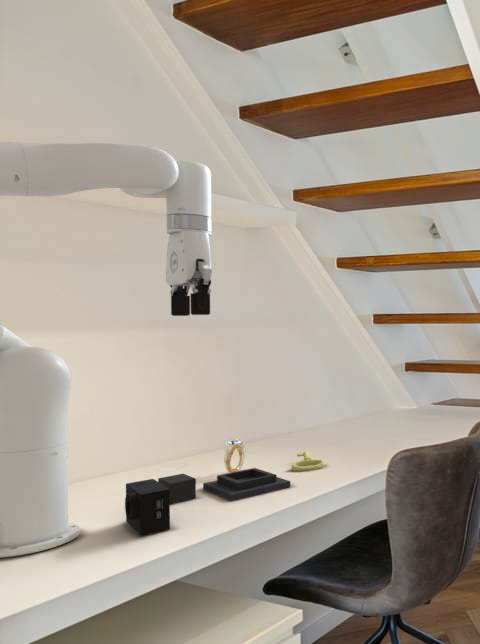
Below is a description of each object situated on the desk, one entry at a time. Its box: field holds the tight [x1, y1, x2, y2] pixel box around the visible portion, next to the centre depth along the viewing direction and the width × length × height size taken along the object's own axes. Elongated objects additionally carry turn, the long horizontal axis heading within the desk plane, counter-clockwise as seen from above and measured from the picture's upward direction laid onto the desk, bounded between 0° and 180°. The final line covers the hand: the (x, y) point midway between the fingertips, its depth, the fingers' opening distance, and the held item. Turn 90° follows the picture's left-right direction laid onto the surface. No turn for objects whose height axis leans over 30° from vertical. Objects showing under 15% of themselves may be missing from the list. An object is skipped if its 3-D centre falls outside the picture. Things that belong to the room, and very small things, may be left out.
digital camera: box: [124, 478, 171, 537], centre depth 102 cm, size 10×5×7 cm, turn 46°
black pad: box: [157, 473, 197, 505], centre depth 119 cm, size 5×6×4 cm
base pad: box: [202, 467, 291, 502], centre depth 125 cm, size 12×14×3 cm
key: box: [291, 450, 325, 472], centre depth 144 cm, size 7×12×2 cm, turn 43°
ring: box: [223, 438, 246, 473], centre depth 138 cm, size 7×3×8 cm, turn 173°
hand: (190, 315), depth 114 cm, fingers open, 9 cm apart
